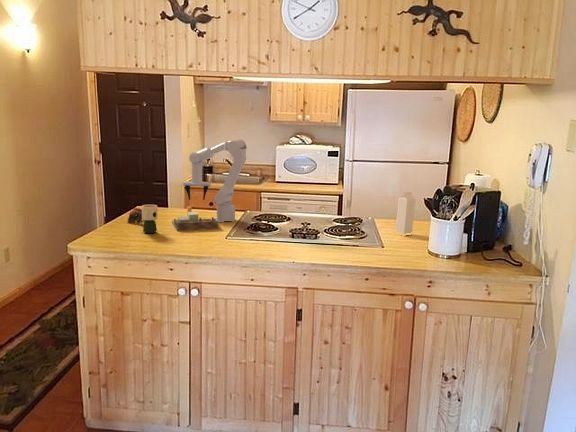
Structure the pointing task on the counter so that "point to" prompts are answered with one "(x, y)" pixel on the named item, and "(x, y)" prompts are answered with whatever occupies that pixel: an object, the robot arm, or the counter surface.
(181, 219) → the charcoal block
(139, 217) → the dark brown lumpy figurine
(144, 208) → the character mug
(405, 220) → the milk
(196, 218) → the rod with orange block
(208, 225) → the lane shelf
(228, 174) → the robot arm
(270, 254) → the counter surface
